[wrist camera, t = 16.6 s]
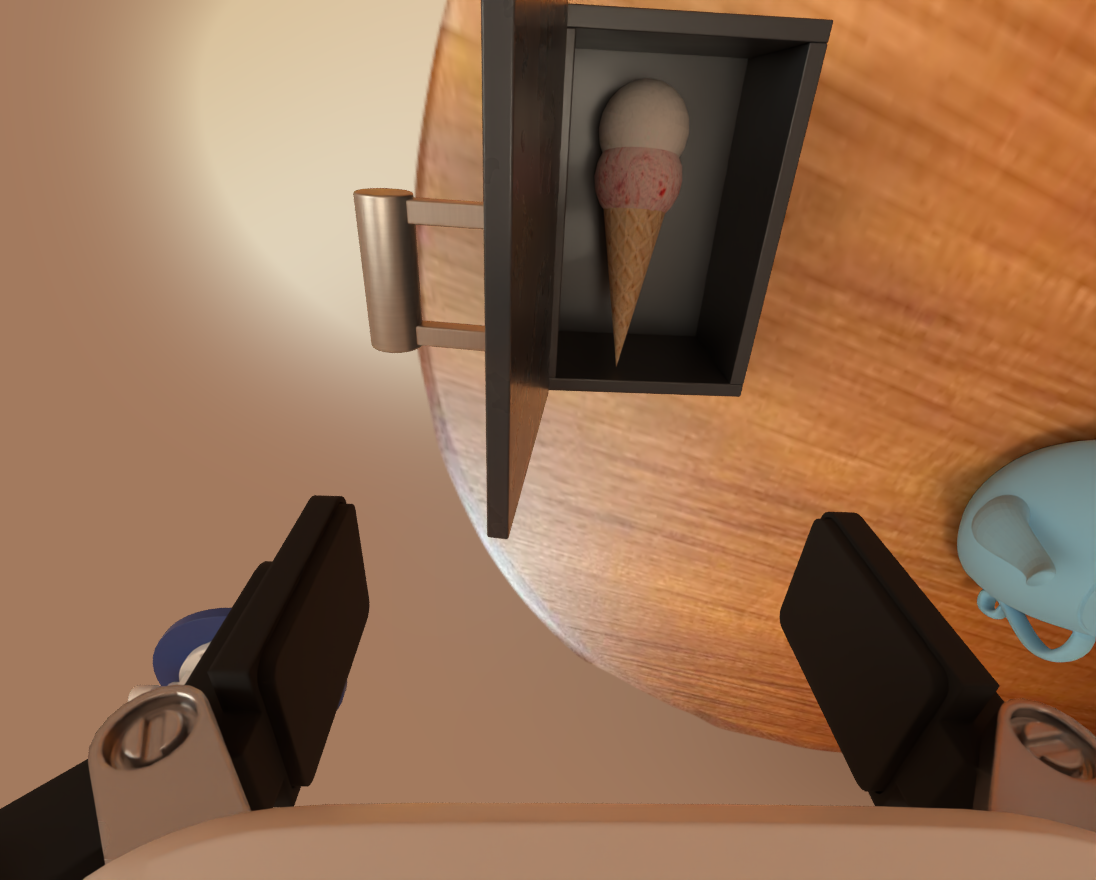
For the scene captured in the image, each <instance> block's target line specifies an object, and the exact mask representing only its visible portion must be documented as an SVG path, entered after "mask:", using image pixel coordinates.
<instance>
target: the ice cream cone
mask: <svg viewBox="0 0 1096 880" xmlns="http://www.w3.org/2000/svg"><path fill="white" fill-rule="evenodd" d="M688 135H689V115H688V112H687V109H686V106H685V103H684V100H683V99H682V98H681V96H680V95H679V94H678V93H677V91H676V90H675V89H674V88H673V87H672V86H670V85H668V84H667V83H665V82H663V81H661V80H656V79H649V78H644V79H639V80H635V81H632V82H630V83H628V84H627V85H625V86H623V87H622V88H620V89H619V90H618V91H617V92H616V93H615V94H614V95H613V96H612V97H611V99H610V100H609V102H608V103H607V105H606V107H605V109H604V111H603V113H602V117H601V121H600V126H599V143H600V147H601V150H602V152H603V153H602V155H601V157H600V158H599V160H598V163H597V167H596V171H595V175H594V179H595V192H596V194H597V197H598V200H599V203H600V205H601V206H602V208H603V209H604V221H605V234H606V247H607V259H608V272H609V285H610V297H611V310H612V323H613V335H614V348H615V361H616V366H617V363H618V360H619V357H620V354H621V350H622V347H623V344H624V341H625V338H626V335H627V332H628V328H629V325H630V322H631V319H632V316H633V313H634V310H635V306H636V303H637V300H638V297H639V294H640V291H641V287H642V284H643V281H644V278H645V275H646V272H647V269H648V265H649V262H650V259H651V256H652V253H653V250H654V247H655V243H656V240H657V237H658V234H659V231H660V228H661V225H662V221H663V218H664V215H665V213H666V212H667V211H668V210H669V209H670V208H671V207H672V205H673V203H674V202H675V200H676V199H677V197H678V195H679V191H680V188H681V184H682V164H681V161H680V158H679V157H680V155H681V154H682V152H683V150H684V149H685V145H686V142H687V138H688Z"/></svg>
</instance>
